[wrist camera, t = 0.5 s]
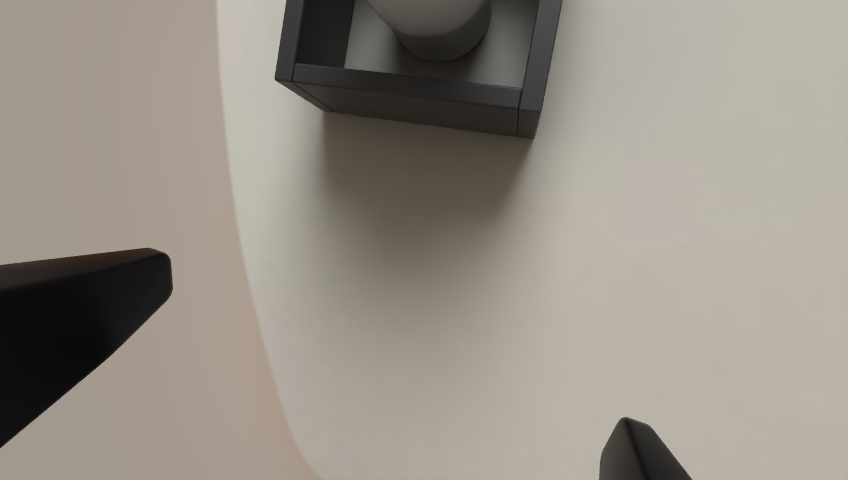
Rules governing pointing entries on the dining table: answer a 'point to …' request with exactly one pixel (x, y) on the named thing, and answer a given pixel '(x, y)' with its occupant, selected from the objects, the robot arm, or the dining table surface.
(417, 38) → the cup
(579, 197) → the dining table surface
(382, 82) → the holder
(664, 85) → the dining table surface
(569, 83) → the dining table surface
